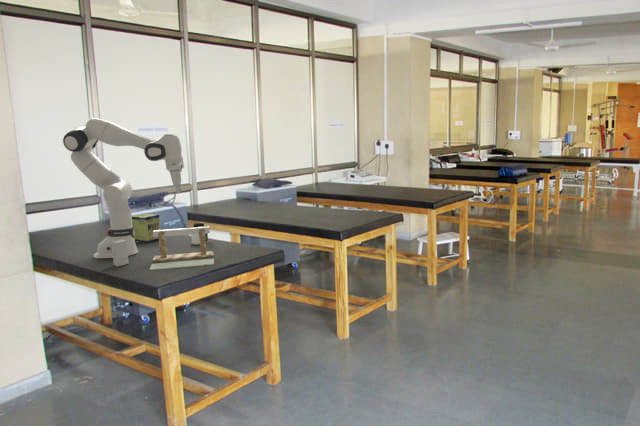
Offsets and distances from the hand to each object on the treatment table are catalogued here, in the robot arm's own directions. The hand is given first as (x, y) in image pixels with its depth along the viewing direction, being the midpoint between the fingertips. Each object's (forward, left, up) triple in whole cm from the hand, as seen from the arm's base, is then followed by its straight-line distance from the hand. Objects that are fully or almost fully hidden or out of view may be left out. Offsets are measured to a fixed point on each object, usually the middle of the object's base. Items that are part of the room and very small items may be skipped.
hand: (178, 192), depth 265 cm
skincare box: (-30, -11, -34) cm, 46 cm away
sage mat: (0, -22, -33) cm, 40 cm away
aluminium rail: (0, -6, -21) cm, 22 cm away
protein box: (-24, +46, -34) cm, 62 cm away
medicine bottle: (+8, +26, -34) cm, 44 cm away
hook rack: (0, -6, -33) cm, 34 cm away
